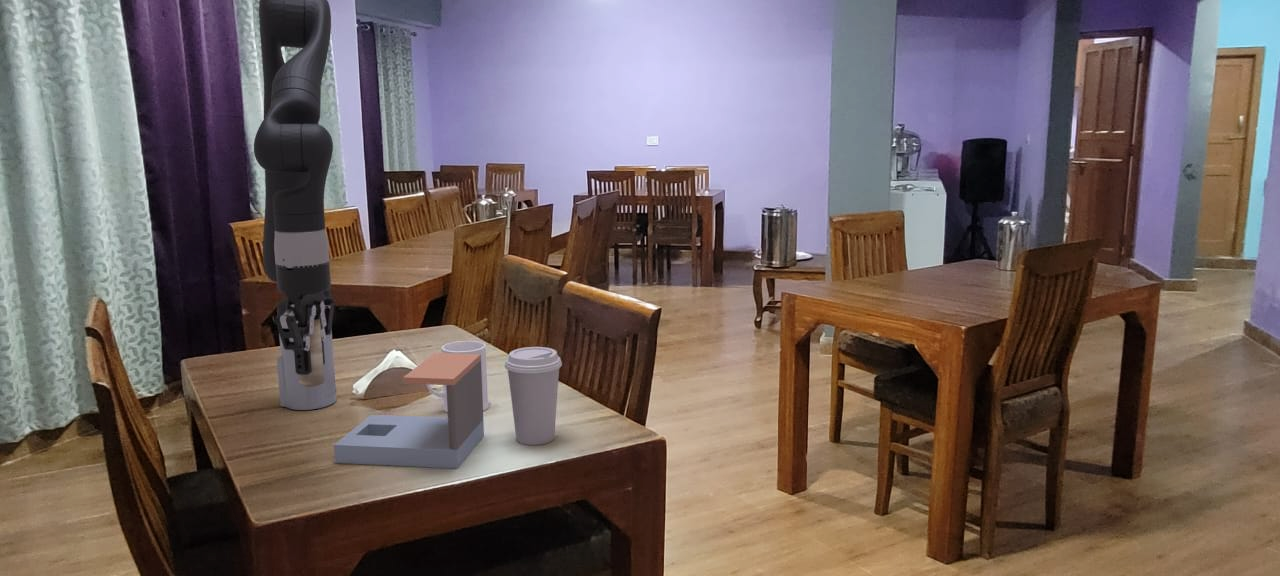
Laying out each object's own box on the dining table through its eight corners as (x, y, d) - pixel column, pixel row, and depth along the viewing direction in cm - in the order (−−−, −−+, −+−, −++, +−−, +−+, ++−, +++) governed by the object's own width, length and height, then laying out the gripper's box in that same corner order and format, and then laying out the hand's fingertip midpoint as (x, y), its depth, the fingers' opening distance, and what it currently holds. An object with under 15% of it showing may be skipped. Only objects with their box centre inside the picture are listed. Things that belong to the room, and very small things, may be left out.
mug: (431, 420, 152) (428, 356, 150) (421, 406, 159) (417, 345, 157) (494, 410, 157) (492, 348, 155) (481, 397, 165) (479, 338, 162)
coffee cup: (515, 452, 138) (512, 363, 135) (500, 432, 146) (497, 349, 143) (571, 443, 141) (569, 357, 138) (553, 424, 150) (551, 343, 147)
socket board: (335, 462, 133) (328, 374, 130) (372, 431, 147) (367, 350, 144) (457, 468, 131) (453, 379, 128) (484, 435, 145) (480, 354, 142)
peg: (294, 386, 128) (289, 322, 126) (306, 378, 132) (302, 317, 130) (317, 387, 128) (312, 323, 126) (328, 380, 132) (324, 317, 129)
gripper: (302, 251, 133) (310, 355, 137) (252, 267, 120) (262, 383, 123) (348, 252, 132) (354, 357, 136) (302, 269, 119) (310, 385, 122)
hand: (310, 369), depth 129 cm, fingers closed on peg, 3 cm apart
